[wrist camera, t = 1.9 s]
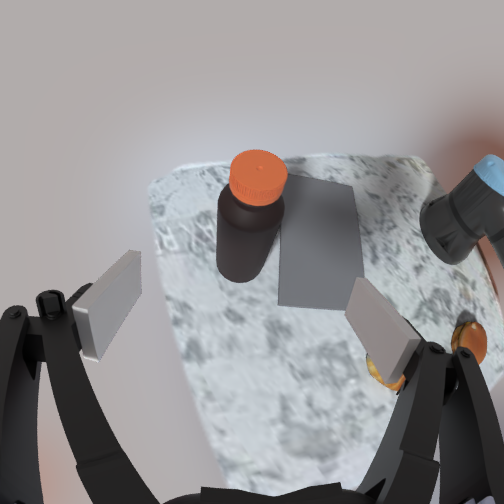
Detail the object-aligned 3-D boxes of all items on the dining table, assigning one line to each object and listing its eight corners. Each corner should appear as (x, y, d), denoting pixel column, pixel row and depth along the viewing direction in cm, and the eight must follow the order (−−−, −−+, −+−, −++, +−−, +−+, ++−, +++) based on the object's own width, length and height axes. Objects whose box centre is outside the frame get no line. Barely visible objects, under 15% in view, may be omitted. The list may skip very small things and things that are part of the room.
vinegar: (254, 237, 42) (282, 139, 24) (267, 277, 40) (310, 194, 22) (211, 246, 41) (212, 146, 23) (222, 288, 38) (230, 206, 20)
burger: (461, 380, 35) (477, 377, 31) (443, 346, 38) (460, 341, 34) (480, 347, 38) (495, 342, 34) (463, 315, 41) (479, 308, 37)
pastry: (413, 370, 36) (428, 369, 32) (390, 401, 33) (404, 402, 30) (383, 333, 38) (396, 328, 35) (357, 363, 36) (370, 361, 32)
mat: (350, 189, 50) (352, 186, 49) (364, 311, 39) (366, 310, 38) (281, 175, 48) (282, 173, 48) (277, 305, 38) (278, 304, 37)
